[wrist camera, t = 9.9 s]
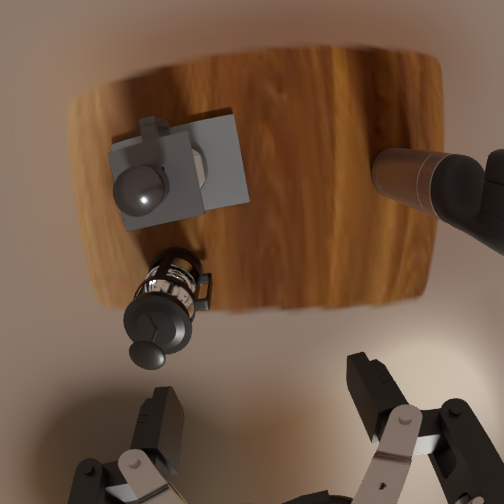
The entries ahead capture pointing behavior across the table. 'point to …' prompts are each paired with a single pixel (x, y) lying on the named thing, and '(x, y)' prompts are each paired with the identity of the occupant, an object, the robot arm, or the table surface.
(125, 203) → the plunger
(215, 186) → the slate board
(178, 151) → the carafe
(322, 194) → the table surface
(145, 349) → the french press
